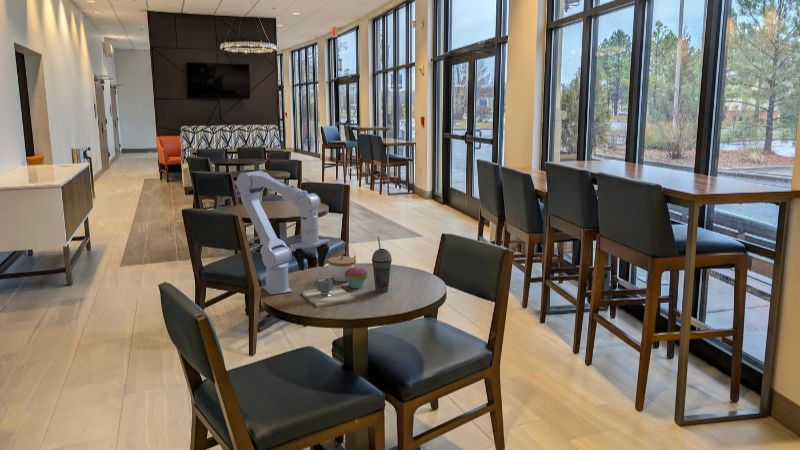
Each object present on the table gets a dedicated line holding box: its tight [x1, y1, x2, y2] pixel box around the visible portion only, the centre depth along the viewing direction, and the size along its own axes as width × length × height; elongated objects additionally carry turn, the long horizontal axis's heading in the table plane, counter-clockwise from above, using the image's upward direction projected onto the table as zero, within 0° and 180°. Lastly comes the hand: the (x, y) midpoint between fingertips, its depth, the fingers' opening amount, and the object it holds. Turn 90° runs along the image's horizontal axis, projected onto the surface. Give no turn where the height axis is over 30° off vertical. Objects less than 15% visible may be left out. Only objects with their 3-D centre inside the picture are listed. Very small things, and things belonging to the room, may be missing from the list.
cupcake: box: [345, 253, 368, 289], centre depth 216 cm, size 9×8×12 cm
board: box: [300, 285, 357, 308], centre depth 204 cm, size 16×14×1 cm
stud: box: [319, 292, 331, 297], centre depth 204 cm, size 4×4×2 cm
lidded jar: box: [327, 254, 354, 282], centre depth 225 cm, size 11×11×9 cm
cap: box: [316, 277, 334, 292], centre depth 203 cm, size 5×6×4 cm
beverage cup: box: [371, 236, 393, 294], centre depth 210 cm, size 7×7×20 cm
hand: (311, 268), depth 203 cm, fingers open, 7 cm apart
